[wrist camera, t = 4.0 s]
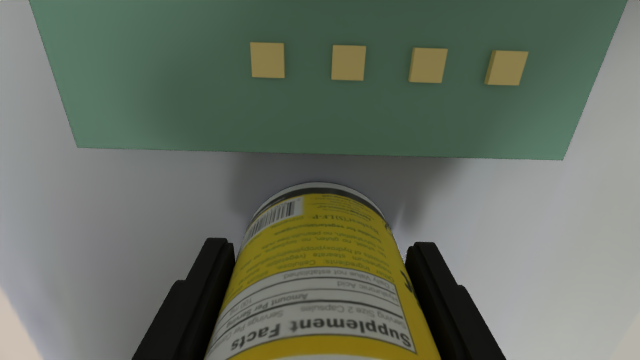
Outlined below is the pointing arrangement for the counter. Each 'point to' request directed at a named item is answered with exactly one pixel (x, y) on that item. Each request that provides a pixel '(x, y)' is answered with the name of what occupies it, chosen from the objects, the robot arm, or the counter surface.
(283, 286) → the supplement bottle
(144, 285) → the counter surface
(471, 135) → the board
